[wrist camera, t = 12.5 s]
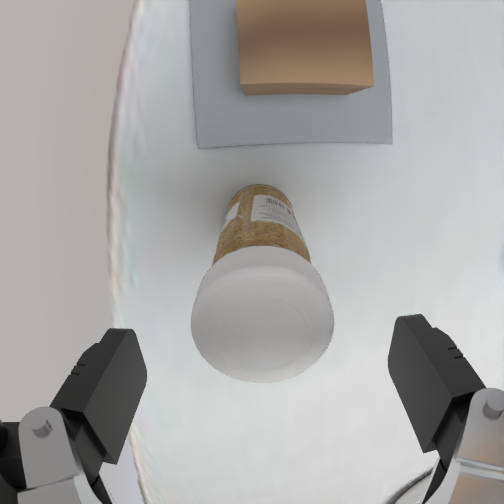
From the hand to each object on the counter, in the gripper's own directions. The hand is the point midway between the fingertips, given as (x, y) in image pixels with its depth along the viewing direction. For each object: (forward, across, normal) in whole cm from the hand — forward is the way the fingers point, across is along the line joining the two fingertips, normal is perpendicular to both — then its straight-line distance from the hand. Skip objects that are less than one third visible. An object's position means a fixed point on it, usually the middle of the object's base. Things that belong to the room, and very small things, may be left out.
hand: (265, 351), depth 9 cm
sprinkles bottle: (+14, 0, 0) cm, 14 cm away
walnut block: (+12, -3, -11) cm, 16 cm away
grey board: (+14, -2, -11) cm, 18 cm away
